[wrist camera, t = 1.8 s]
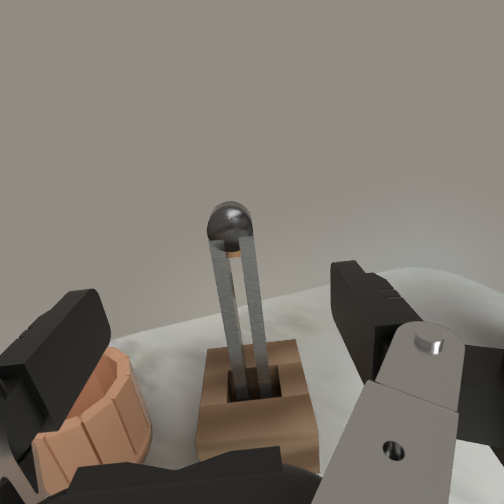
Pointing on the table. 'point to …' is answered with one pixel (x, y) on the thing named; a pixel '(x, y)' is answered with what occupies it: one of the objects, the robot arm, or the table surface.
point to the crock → (98, 425)
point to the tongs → (222, 248)
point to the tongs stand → (258, 408)
